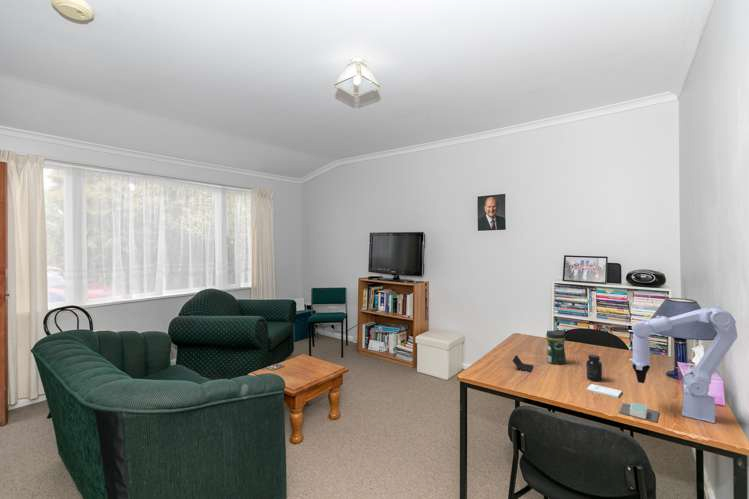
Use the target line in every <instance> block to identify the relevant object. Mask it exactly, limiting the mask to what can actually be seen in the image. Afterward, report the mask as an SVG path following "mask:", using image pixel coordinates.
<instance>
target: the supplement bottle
mask: <svg viewBox="0 0 749 499" xmlns="http://www.w3.org/2000/svg"><path fill="white" fill-rule="evenodd" d="M587 357H588V360H586V379H587V380H589V381H591V382H597V383H598V382H602V381H603V363H602V361H600V360H601V359H600V357H601V356H599V355H597V354H588V356H587Z"/></svg>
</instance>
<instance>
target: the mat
mask: <svg viewBox="0 0 749 499" xmlns="http://www.w3.org/2000/svg"><path fill="white" fill-rule="evenodd" d="M630 407H631V404H628V403H625V402H623V403H622V404H621V408H620V410H619V411H618V413H619V414H620V415H625V416H629V417H632V418H637V419H641V420H644V421H648V422H653V423H655V422H656V423H658V419H659V414H660V411H659V410H654V409H649V408H647V415H646V419H644V418H640V417H636V416H632V415H630Z"/></svg>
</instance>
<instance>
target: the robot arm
mask: <svg viewBox="0 0 749 499" xmlns="http://www.w3.org/2000/svg"><path fill="white" fill-rule="evenodd" d="M694 322H700V323H705V324H711V325H712V326H713V328H714V330H715V332H716V333H717V334H716V336H714V338H713V340H712V342H711V343H710V344H709V346H708V348H707V349H706V351H705V352H704V354H703V356H702V357H701V359H700V360H699V362H698V363H697V364H696V366H695V367H693V368H692V369H691V370H690V371H689V372H687V373H686V374H684V375H683V376H682V382H683V384H684V385H685V387H684V388H683V394H682V395H683V396H682V397H683V399H682V400H683V402H682V403H683V406H682V410H681V416H683V417H686V418H690V419H695V420H699V421H704V422H707V423H708V422H709V423H712V424H715V423H716V417H717V412H716V399H715V398H716V397H714V396H711V395H709V394H708V393H709V392H710V385H711V383H712V377H713V374H714V373H715V372H716V370H717V368H718V367H719V365H720V364H721V362H722V361H723V359H724V358H725V356H726V355H727V354H728V352H729V351H730V349H731V347H732V346H733V345H734V343H735V342H736V340H737V338H738V331H737V326H736V322H737V320H736V319H735V318H734V316H733V315H732V313H730V312H729V311H727V310H724V309H723V308H721V307H719V306H710V307H708V308H707V307H703V308H698V309H695V310H692V311H688V312H685V313H681V314H678V315H673V316H670V317H667V316H665V315H655V317H654V318H650V319H642V321H640V320H638V321H635V322H634V323H632V325H631V330H632V332H633V334H632V357H631V358H628V359H629V362H631V363H633V364H632V368H633V370H634V373H635V376H636V380H637V382H638V383H641V384H645V383H646V378H647V377H646V376H647V373H648V372H649V370H650V368H651V366H650V365H651V361H650V359H651V358H650V335H651V334H653V335H654V334H658V333H661V332H666V331H671V330H672V328H673V326H678V325H682V324H688V323H694Z"/></svg>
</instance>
